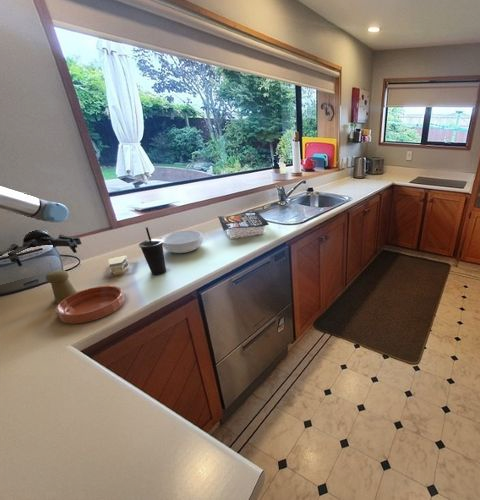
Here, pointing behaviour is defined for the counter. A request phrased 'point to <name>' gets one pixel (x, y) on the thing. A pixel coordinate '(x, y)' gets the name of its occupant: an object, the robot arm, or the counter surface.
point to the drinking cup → (154, 254)
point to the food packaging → (243, 224)
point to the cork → (60, 285)
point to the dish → (90, 304)
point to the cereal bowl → (182, 241)
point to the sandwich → (118, 264)
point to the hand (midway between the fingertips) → (47, 255)
